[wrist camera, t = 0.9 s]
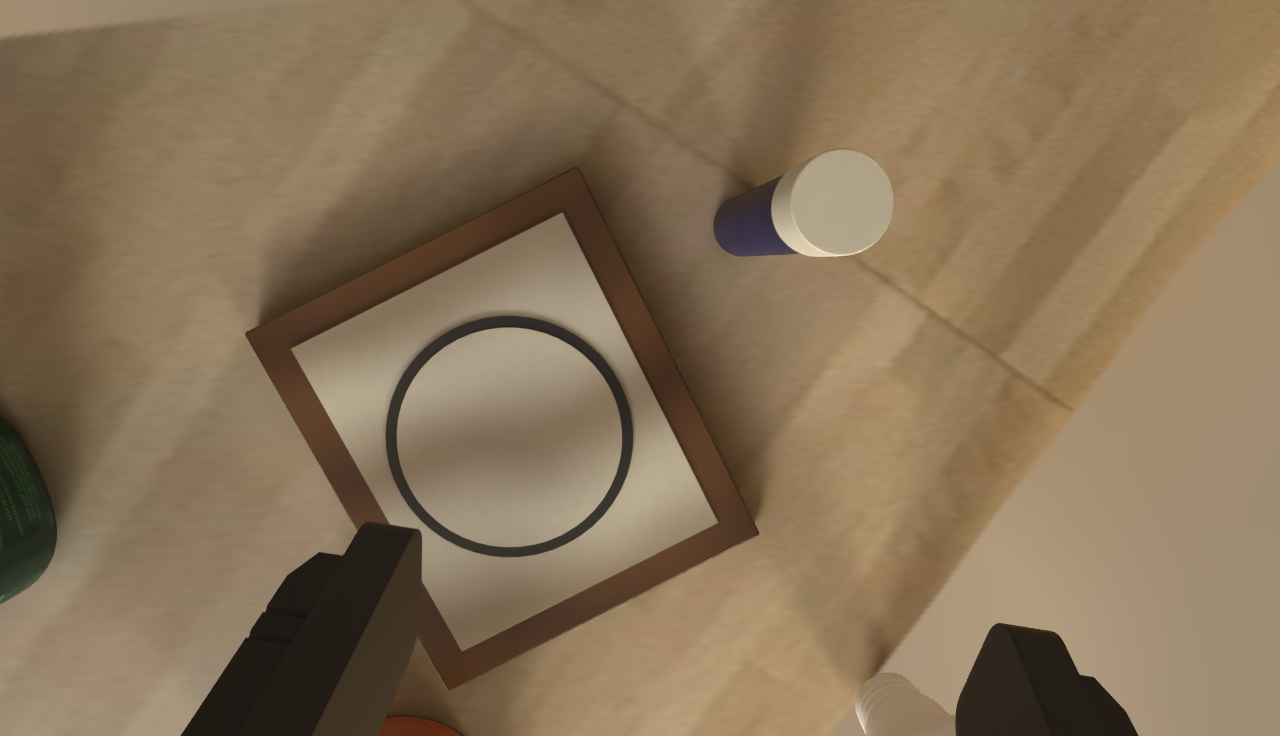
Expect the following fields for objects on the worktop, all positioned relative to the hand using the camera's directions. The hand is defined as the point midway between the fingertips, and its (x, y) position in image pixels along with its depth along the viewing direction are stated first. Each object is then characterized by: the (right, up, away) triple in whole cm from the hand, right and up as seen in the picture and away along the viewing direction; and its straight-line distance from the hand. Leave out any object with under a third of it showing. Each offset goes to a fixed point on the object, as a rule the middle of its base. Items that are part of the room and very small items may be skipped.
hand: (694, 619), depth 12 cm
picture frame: (-5, +1, +19) cm, 20 cm away
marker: (+3, +9, +19) cm, 21 cm away
